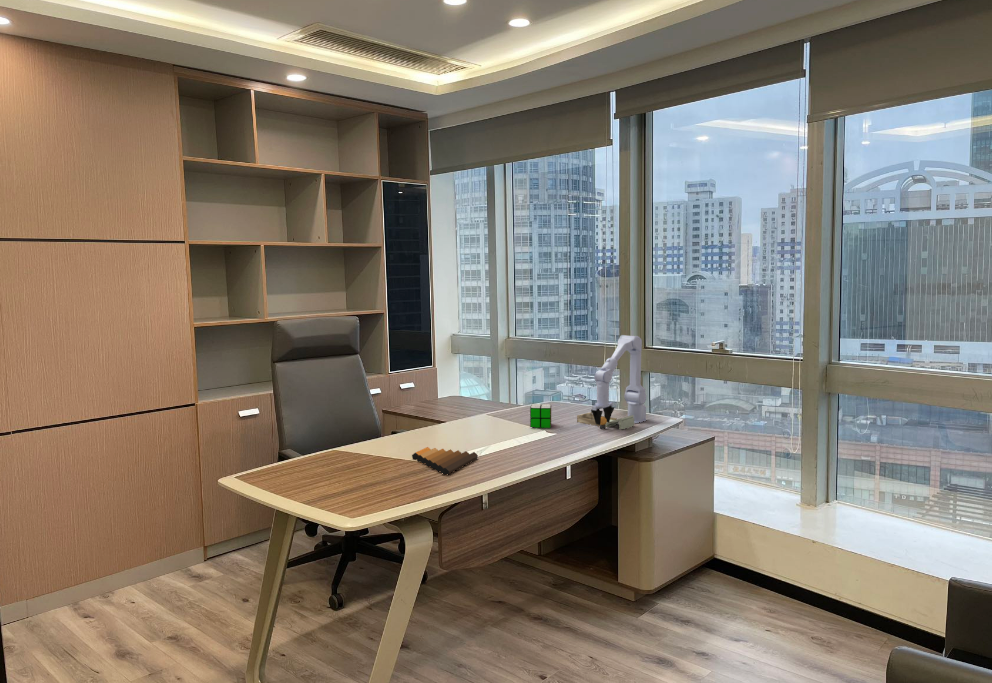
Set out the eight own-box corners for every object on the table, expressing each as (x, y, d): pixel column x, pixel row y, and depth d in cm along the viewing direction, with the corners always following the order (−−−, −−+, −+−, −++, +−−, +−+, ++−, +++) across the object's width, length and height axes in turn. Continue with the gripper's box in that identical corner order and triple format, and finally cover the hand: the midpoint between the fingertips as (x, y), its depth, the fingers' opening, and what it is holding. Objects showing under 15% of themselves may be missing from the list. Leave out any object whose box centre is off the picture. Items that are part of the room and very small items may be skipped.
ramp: (607, 421, 353) (607, 410, 353) (633, 426, 343) (634, 415, 342) (595, 425, 346) (595, 413, 346) (622, 429, 335) (622, 418, 335)
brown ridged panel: (449, 476, 262) (478, 460, 285) (449, 468, 261) (478, 452, 284) (391, 469, 272) (424, 454, 295) (391, 461, 271) (424, 446, 294)
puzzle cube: (551, 424, 350) (551, 404, 349) (550, 428, 340) (550, 408, 339) (531, 423, 351) (531, 404, 350) (530, 428, 341) (530, 407, 340)
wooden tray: (590, 418, 361) (590, 412, 361) (616, 423, 350) (616, 416, 350) (577, 422, 353) (577, 415, 353) (603, 426, 342) (603, 419, 342)
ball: (601, 423, 341) (601, 415, 340) (608, 425, 338) (608, 416, 337) (596, 425, 338) (596, 417, 337) (603, 426, 335) (603, 418, 335)
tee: (601, 427, 340) (601, 424, 340) (606, 428, 338) (606, 425, 338) (598, 428, 338) (598, 425, 338) (603, 429, 336) (603, 426, 336)
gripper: (604, 392, 344) (604, 419, 346) (586, 396, 334) (586, 424, 335) (616, 394, 339) (616, 421, 341) (599, 397, 329) (598, 426, 330)
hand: (602, 423), depth 338 cm, fingers open, 7 cm apart
